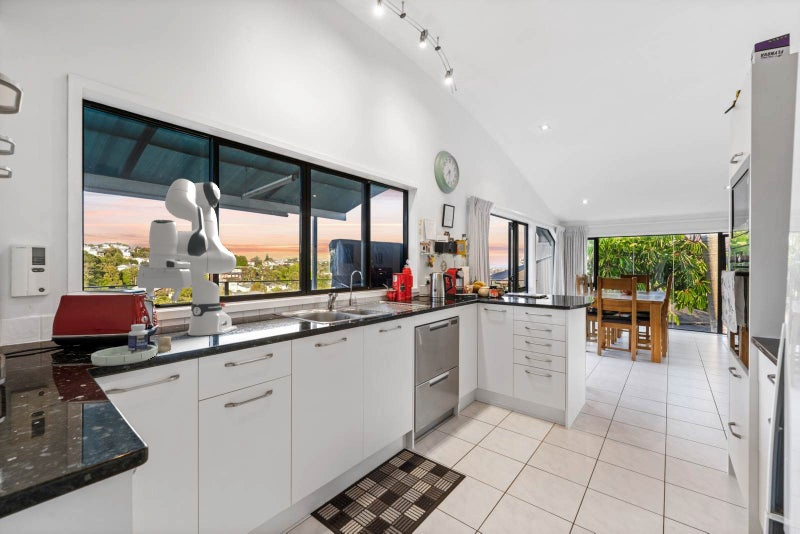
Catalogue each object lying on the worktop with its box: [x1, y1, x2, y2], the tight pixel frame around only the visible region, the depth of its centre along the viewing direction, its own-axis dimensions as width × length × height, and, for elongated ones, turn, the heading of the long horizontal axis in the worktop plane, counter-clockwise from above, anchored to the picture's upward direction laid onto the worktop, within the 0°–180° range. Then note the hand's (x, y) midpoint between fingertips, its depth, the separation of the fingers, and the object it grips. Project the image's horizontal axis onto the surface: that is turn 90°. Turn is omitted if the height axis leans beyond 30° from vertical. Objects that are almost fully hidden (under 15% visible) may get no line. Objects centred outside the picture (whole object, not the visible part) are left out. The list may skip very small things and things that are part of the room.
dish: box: [90, 344, 158, 367], centre depth 117 cm, size 17×17×3 cm
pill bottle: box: [127, 323, 149, 354], centre depth 121 cm, size 5×5×10 cm
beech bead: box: [157, 336, 172, 353], centre depth 127 cm, size 4×4×5 cm
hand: (163, 300), depth 127 cm, fingers open, 8 cm apart
